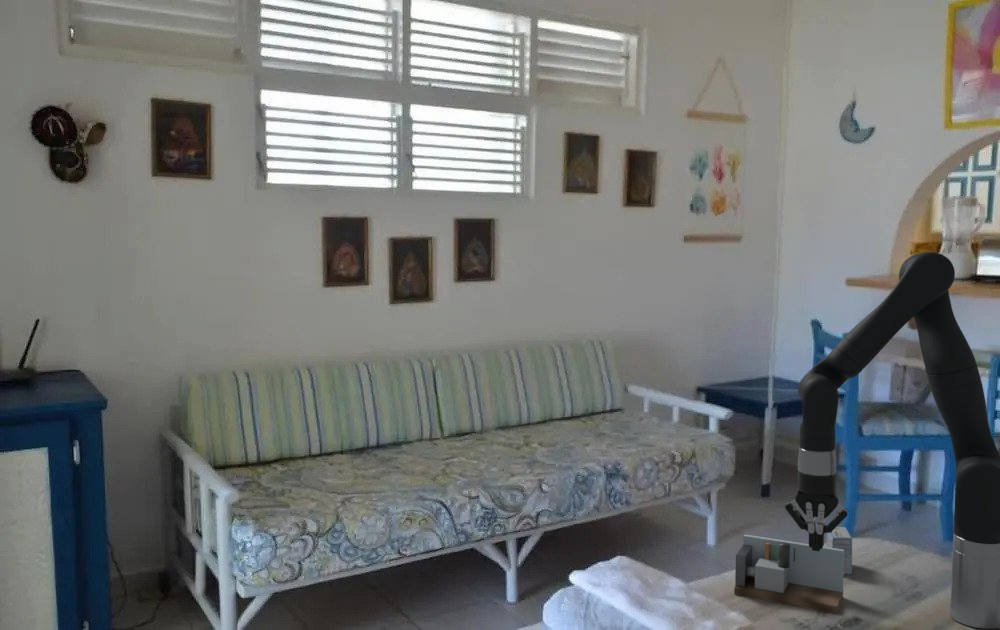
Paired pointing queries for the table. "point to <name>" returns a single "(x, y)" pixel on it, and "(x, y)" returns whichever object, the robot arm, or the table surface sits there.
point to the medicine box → (842, 545)
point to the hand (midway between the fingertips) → (816, 549)
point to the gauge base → (795, 596)
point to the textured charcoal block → (743, 565)
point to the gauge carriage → (772, 569)
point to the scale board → (804, 562)
